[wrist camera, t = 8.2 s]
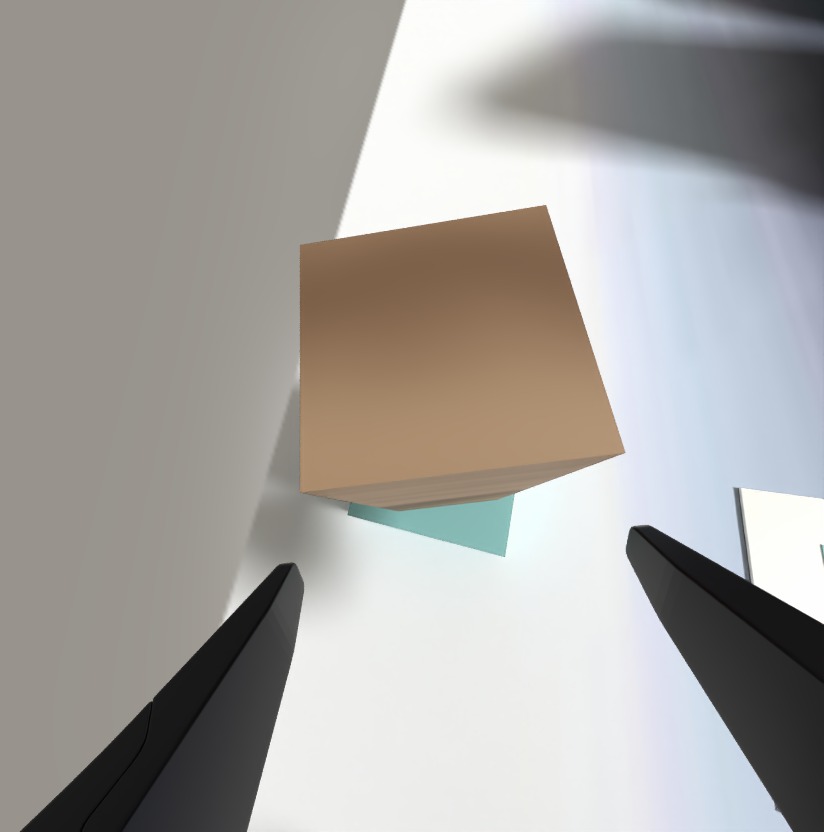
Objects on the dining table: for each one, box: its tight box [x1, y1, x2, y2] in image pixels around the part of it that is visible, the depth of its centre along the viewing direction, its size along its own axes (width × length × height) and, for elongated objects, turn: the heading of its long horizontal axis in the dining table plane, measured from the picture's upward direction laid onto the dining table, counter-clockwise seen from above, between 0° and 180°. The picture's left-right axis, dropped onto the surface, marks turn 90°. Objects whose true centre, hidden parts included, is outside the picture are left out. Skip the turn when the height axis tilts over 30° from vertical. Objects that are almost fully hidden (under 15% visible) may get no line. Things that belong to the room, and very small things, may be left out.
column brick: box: [300, 205, 625, 511], centre depth 11 cm, size 5×5×12 cm
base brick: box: [348, 494, 514, 557], centre depth 19 cm, size 8×8×3 cm
